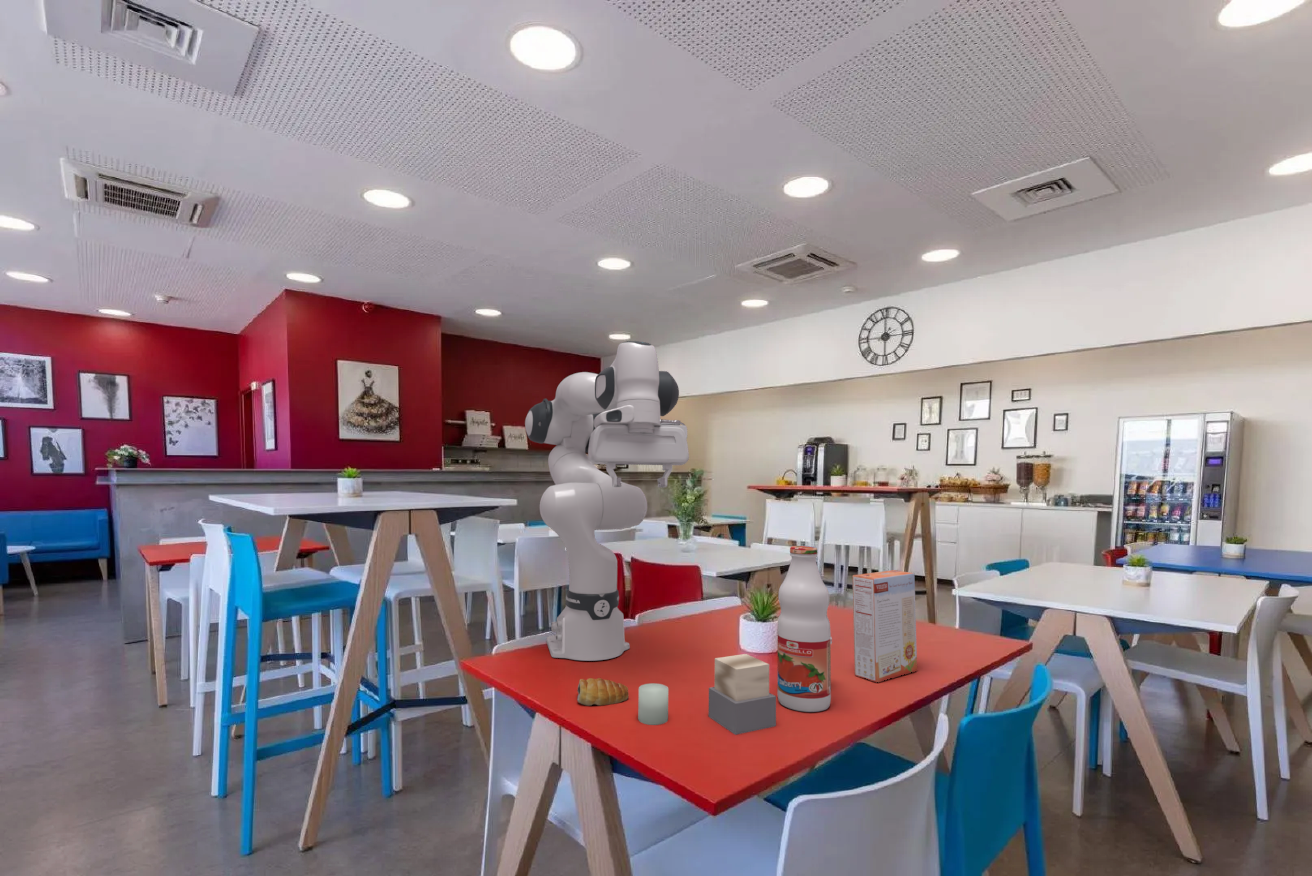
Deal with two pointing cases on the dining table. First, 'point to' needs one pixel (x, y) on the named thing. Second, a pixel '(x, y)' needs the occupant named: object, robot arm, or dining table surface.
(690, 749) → the dining table surface
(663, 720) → the grey round cylinder
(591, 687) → the pastry
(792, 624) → the fruit juice
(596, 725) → the dining table surface
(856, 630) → the cracker box
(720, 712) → the tower base
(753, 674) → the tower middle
